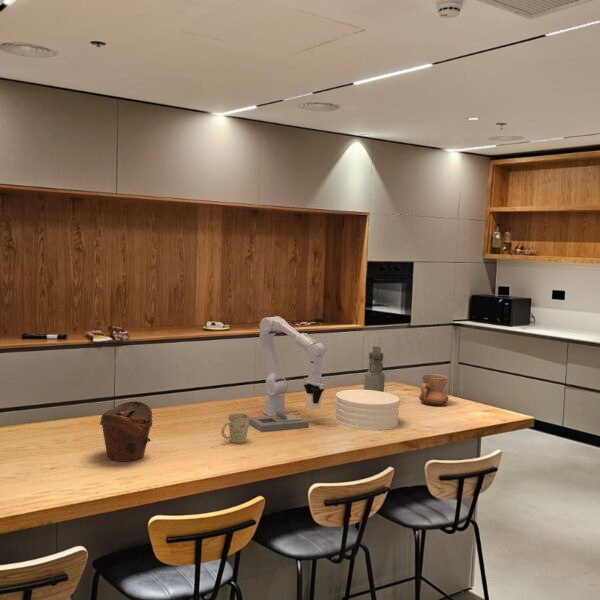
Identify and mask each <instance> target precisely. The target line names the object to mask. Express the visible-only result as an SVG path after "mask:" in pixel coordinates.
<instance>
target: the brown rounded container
mask: <svg viewBox="0 0 600 600" xmlns="http://www.w3.org/2000/svg"><path fill="white" fill-rule="evenodd" d="M152 414H153V412H152V408H151V407H150V406H149V405H148V404H146V403H144V402H141V401H137V400H136V401H128V402H124V403H121V404H119V405H117V406H115V407H113V408H110V409H109V410H107V411H106V412H104V413H102V415H101V418H100V422H99V424H100V426H102V427H101V428H102V433H103V438H104V439H103V440H104V444H105V445H104V446H105V450H106V457H107V458H108V459H109V460H110V461H114V462H133V461H137V460H140V459H142V458H143V457H144V456H145V451H146V448H147V445H148V442H151V439H150V438H149V435H150V429H151V427H153V415H152Z"/></svg>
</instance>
